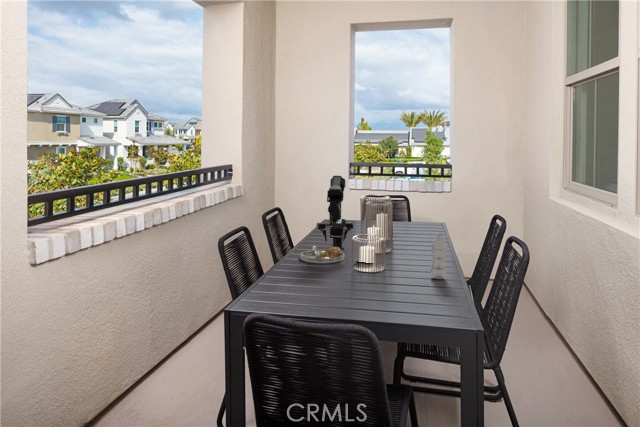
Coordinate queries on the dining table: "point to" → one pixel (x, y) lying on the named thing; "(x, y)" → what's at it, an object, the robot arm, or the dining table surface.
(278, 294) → the dining table surface
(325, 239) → the robot arm
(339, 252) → the planet gear
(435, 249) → the plastic bottle
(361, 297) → the dining table surface
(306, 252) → the carrier
